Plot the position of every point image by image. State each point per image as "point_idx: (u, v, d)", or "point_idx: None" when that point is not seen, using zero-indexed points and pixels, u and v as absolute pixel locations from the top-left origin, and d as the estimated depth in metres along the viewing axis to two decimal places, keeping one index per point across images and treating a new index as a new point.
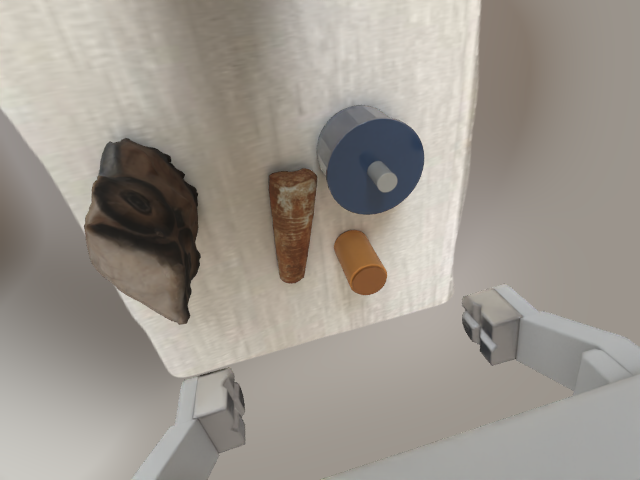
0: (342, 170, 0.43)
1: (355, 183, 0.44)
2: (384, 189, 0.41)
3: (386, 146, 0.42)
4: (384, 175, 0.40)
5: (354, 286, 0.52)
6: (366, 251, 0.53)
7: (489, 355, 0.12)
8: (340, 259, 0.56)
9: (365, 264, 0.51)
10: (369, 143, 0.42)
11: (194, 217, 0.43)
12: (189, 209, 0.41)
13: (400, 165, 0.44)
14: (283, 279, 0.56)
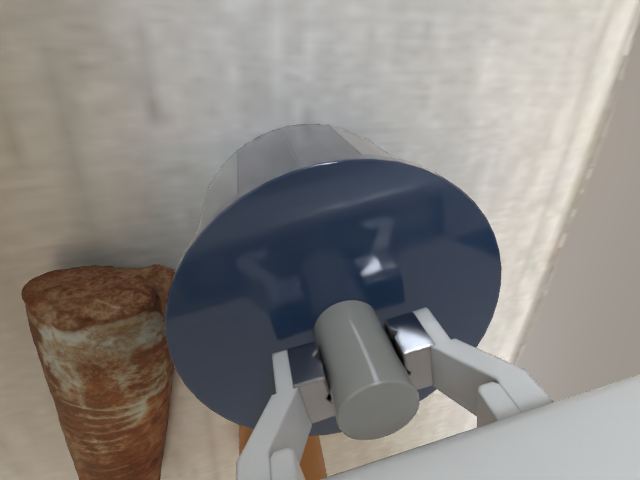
0: (224, 319, 0.12)
1: None
2: (364, 432, 0.10)
3: (388, 258, 0.12)
4: (370, 390, 0.10)
5: None
6: None
7: None
8: None
9: None
10: (330, 242, 0.11)
11: None
12: None
13: None
14: None
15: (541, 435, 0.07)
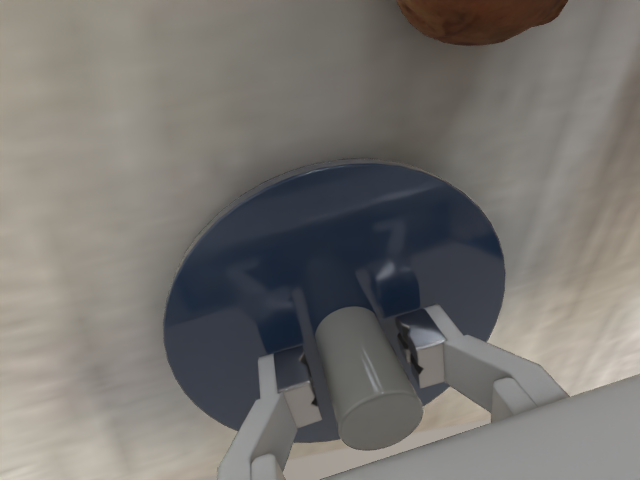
0: (224, 326, 0.12)
1: None
2: (366, 443, 0.10)
3: (391, 264, 0.12)
4: (372, 401, 0.09)
5: None
6: None
7: (417, 378, 0.11)
8: None
9: None
10: (331, 247, 0.11)
11: None
12: None
13: None
14: None
15: (541, 435, 0.07)
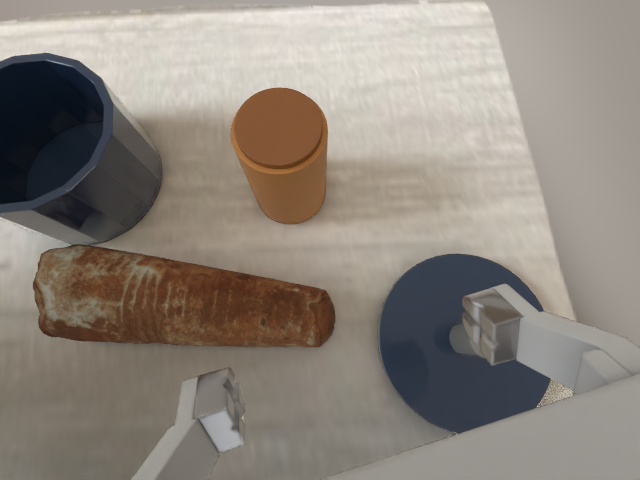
0: (463, 404, 0.24)
1: (490, 378, 0.25)
2: None
3: (424, 322, 0.26)
4: (474, 345, 0.22)
5: (282, 161, 0.20)
6: None
7: (489, 355, 0.12)
8: (279, 206, 0.25)
9: (231, 138, 0.21)
10: (417, 352, 0.25)
11: None
12: None
13: (460, 294, 0.26)
14: (312, 340, 0.24)
15: (541, 435, 0.07)
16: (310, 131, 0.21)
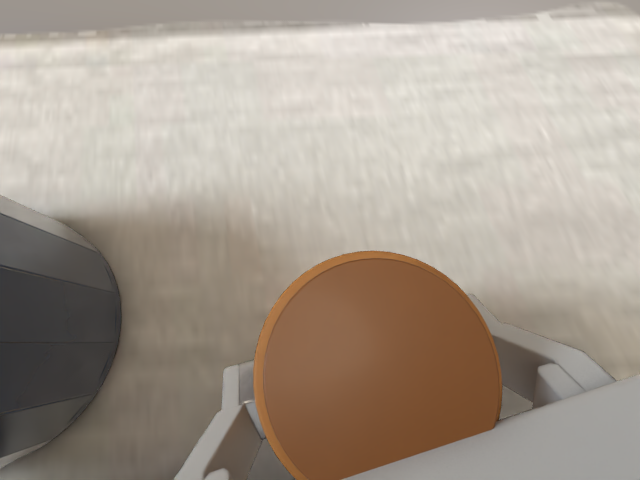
0: None
1: None
2: None
3: None
4: None
5: None
6: None
7: None
8: None
9: (255, 391, 0.08)
10: None
11: None
12: None
13: None
14: None
15: (541, 435, 0.07)
16: (470, 394, 0.08)
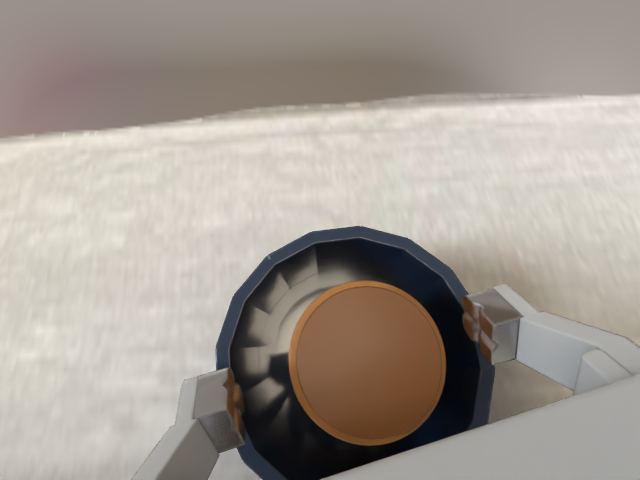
0: None
1: None
2: None
3: None
4: None
5: (381, 431, 0.12)
6: None
7: (489, 355, 0.12)
8: None
9: (290, 371, 0.13)
10: None
11: None
12: None
13: None
14: None
15: (541, 435, 0.07)
16: (423, 371, 0.12)
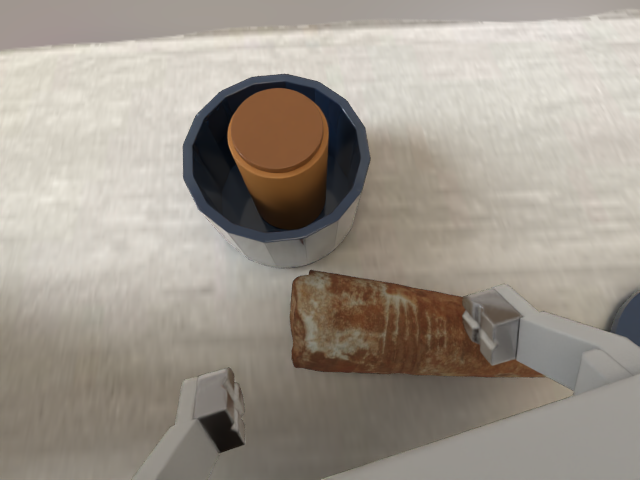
0: None
1: None
2: None
3: None
4: None
5: (281, 164, 0.19)
6: None
7: (489, 355, 0.12)
8: (278, 211, 0.24)
9: None
10: None
11: None
12: None
13: None
14: None
15: (541, 435, 0.07)
16: (310, 133, 0.20)
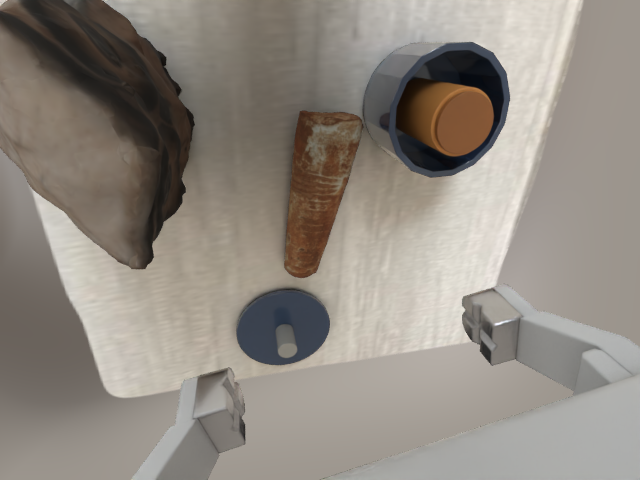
0: (251, 329, 0.47)
1: (264, 340, 0.48)
2: (284, 355, 0.45)
3: (294, 313, 0.47)
4: (284, 345, 0.44)
5: (440, 126, 0.30)
6: None
7: (489, 355, 0.12)
8: (407, 106, 0.34)
9: (465, 87, 0.29)
10: (278, 310, 0.46)
11: (186, 136, 0.29)
12: (182, 114, 0.27)
13: (307, 328, 0.48)
14: (289, 270, 0.41)
15: (541, 435, 0.07)
16: (455, 146, 0.31)
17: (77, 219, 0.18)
